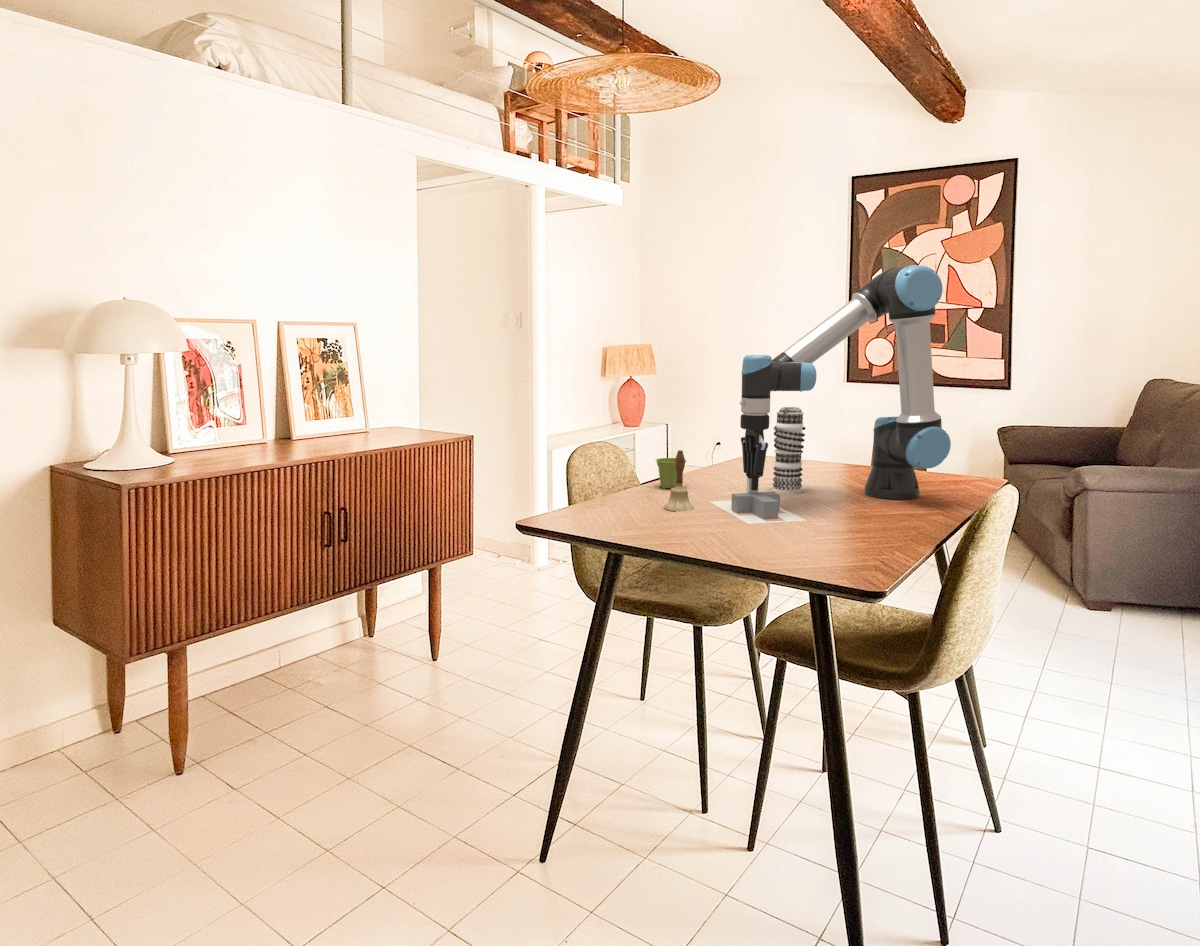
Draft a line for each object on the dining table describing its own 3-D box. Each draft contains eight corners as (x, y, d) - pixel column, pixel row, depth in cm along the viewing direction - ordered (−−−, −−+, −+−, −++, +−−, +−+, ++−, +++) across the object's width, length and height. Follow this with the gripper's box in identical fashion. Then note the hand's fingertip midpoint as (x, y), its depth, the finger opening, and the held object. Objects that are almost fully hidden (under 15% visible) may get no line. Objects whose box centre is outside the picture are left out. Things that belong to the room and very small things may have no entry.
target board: (762, 499, 237) (762, 499, 237) (807, 521, 210) (807, 520, 210) (709, 502, 234) (709, 501, 234) (748, 524, 207) (748, 523, 207)
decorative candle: (778, 486, 258) (781, 405, 254) (807, 489, 253) (811, 407, 249) (766, 490, 251) (769, 408, 247) (795, 494, 245) (798, 409, 241)
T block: (773, 508, 225) (773, 491, 225) (792, 517, 214) (793, 500, 213) (731, 510, 223) (731, 493, 222) (748, 519, 211) (749, 502, 210)
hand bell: (700, 508, 226) (701, 450, 223) (681, 513, 220) (682, 453, 217) (676, 504, 232) (677, 447, 229) (657, 508, 226) (657, 450, 223)
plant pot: (649, 486, 258) (650, 458, 257) (676, 483, 262) (676, 456, 261) (664, 491, 250) (665, 462, 249) (691, 489, 254) (692, 460, 253)
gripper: (732, 411, 226) (730, 497, 230) (751, 416, 213) (748, 506, 217) (758, 411, 227) (755, 496, 231) (778, 416, 215) (775, 505, 219)
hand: (752, 501), depth 224 cm, fingers closed
